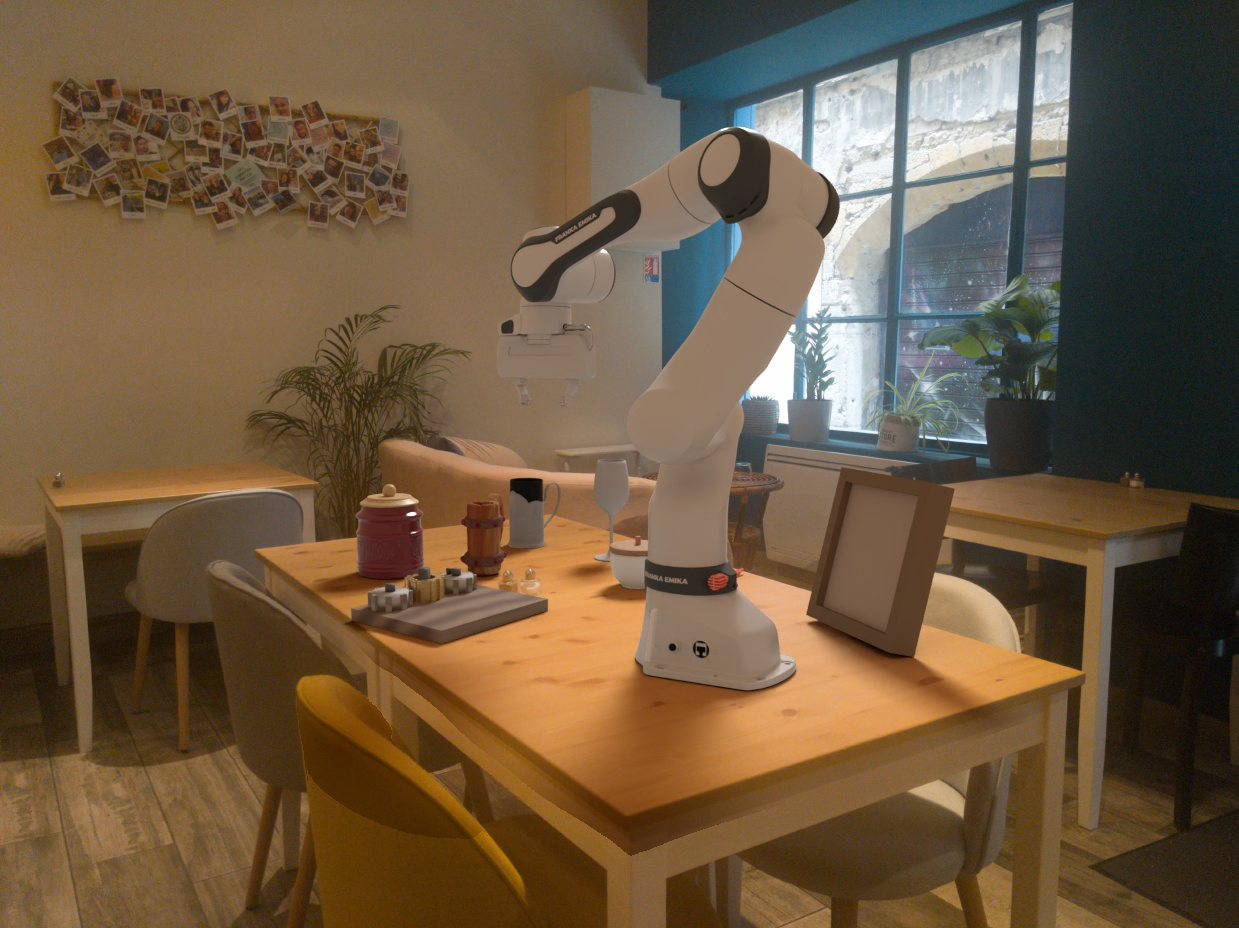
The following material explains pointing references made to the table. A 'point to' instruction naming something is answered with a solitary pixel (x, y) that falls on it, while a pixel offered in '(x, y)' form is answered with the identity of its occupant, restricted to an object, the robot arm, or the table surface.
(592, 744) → the table surface
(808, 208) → the robot arm
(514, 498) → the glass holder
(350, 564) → the table surface
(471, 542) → the mug
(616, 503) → the wineglass
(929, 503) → the photo frame
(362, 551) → the canister
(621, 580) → the lidded jar
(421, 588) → the brass gear
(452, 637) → the gear board
